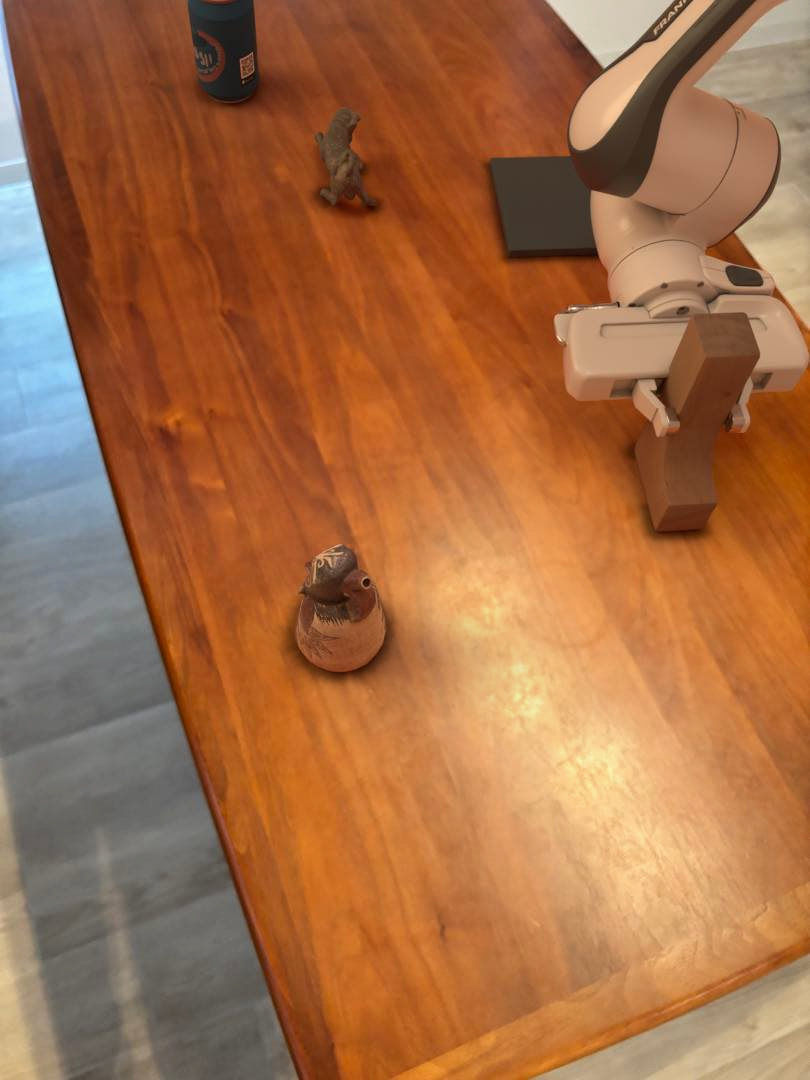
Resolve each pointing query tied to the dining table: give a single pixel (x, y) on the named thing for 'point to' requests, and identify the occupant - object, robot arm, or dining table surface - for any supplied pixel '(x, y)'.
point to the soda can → (225, 48)
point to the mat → (543, 206)
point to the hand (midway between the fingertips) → (704, 430)
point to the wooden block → (695, 418)
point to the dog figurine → (342, 159)
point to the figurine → (339, 612)
